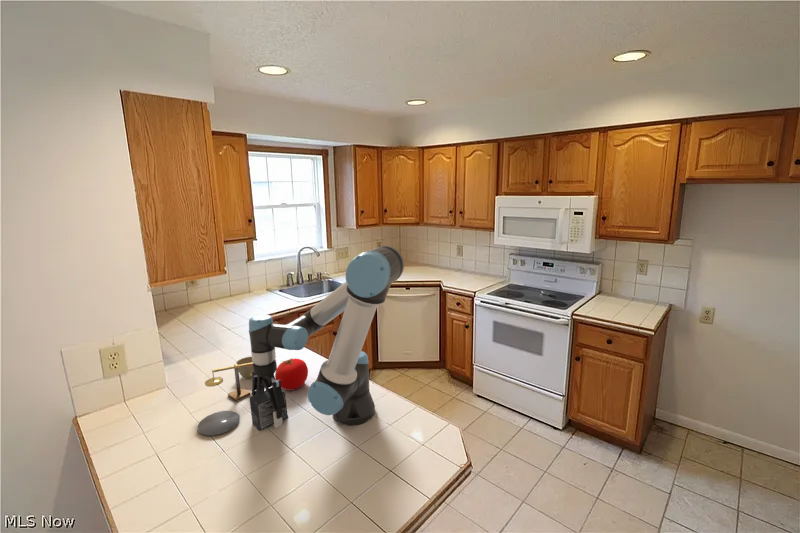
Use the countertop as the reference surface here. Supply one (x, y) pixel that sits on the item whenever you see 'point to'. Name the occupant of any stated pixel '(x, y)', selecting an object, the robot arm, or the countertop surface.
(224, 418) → the dish
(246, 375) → the flower pot
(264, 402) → the small box
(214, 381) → the balance
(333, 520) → the countertop surface
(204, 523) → the countertop surface
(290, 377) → the tomato
